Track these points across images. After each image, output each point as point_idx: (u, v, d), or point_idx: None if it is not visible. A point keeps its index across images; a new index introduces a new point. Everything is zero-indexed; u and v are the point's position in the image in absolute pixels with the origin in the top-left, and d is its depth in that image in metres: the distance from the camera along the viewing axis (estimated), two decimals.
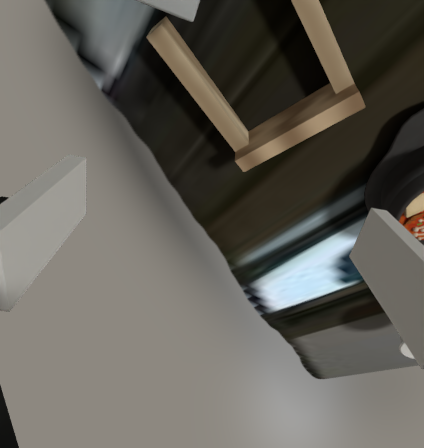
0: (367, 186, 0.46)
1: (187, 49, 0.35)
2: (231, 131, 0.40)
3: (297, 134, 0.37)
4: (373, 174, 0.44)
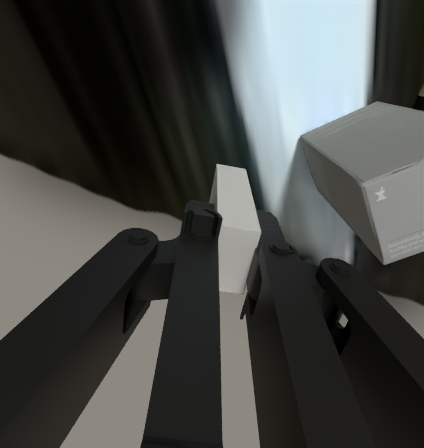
0: None
1: None
2: None
3: None
4: None
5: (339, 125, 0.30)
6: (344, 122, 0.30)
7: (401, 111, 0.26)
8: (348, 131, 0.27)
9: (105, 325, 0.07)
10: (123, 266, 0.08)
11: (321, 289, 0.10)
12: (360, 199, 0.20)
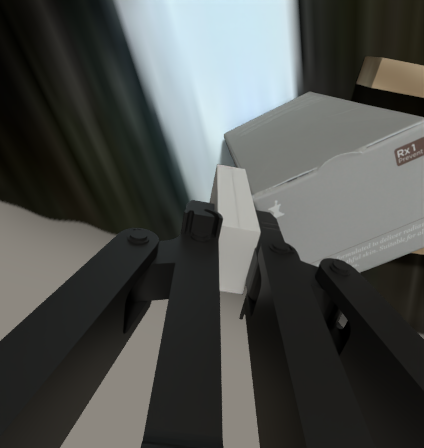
0: None
1: None
2: None
3: None
4: None
5: (262, 120, 0.25)
6: (268, 117, 0.25)
7: (327, 102, 0.22)
8: (267, 127, 0.23)
9: (105, 325, 0.07)
10: (123, 266, 0.08)
11: (321, 289, 0.10)
12: None
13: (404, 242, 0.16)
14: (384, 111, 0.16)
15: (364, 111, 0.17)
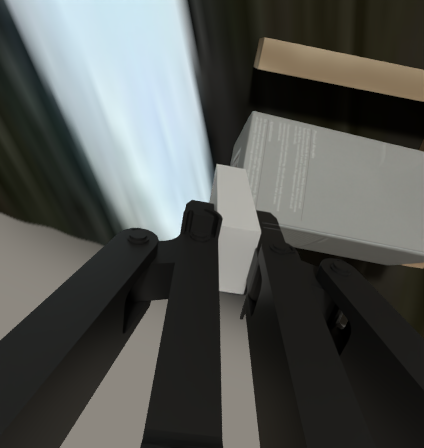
0: None
1: None
2: None
3: None
4: None
5: (283, 180, 0.23)
6: (282, 172, 0.23)
7: (331, 138, 0.24)
8: (321, 191, 0.23)
9: (105, 325, 0.07)
10: (123, 266, 0.08)
11: (321, 289, 0.10)
12: (422, 260, 0.24)
13: None
14: (412, 152, 0.25)
15: (398, 153, 0.24)
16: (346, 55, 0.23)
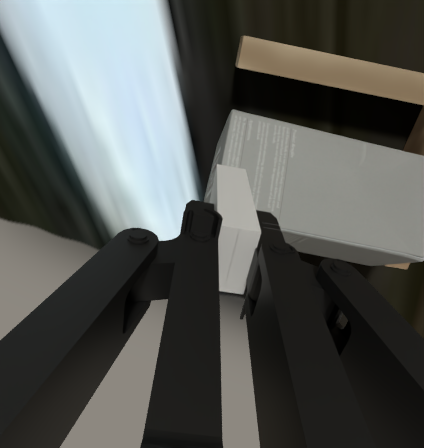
0: None
1: None
2: None
3: None
4: None
5: (261, 179, 0.22)
6: (260, 171, 0.22)
7: (310, 137, 0.24)
8: (300, 190, 0.23)
9: (105, 325, 0.07)
10: (123, 266, 0.08)
11: (321, 289, 0.10)
12: (403, 261, 0.24)
13: None
14: (393, 151, 0.24)
15: (379, 153, 0.24)
16: (326, 54, 0.23)
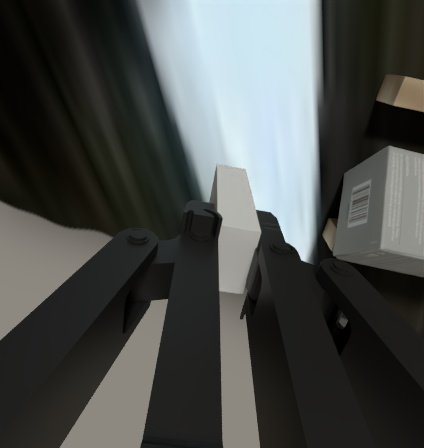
0: None
1: None
2: None
3: None
4: None
5: (423, 214, 0.23)
6: (421, 206, 0.23)
7: None
8: None
9: (105, 325, 0.07)
10: (123, 266, 0.08)
11: (321, 289, 0.10)
12: None
13: None
14: None
15: None
16: None
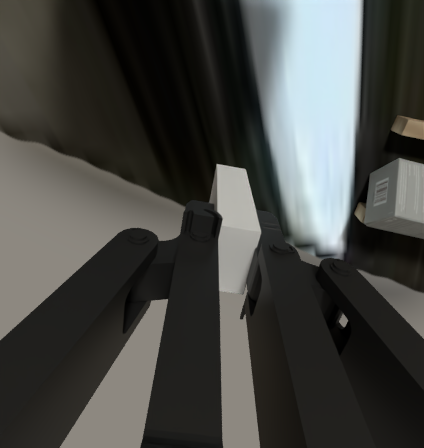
0: None
1: None
2: None
3: None
4: None
5: (418, 197, 0.42)
6: (417, 192, 0.42)
7: None
8: None
9: (105, 325, 0.07)
10: (123, 266, 0.08)
11: (321, 289, 0.10)
12: None
13: None
14: None
15: None
16: None
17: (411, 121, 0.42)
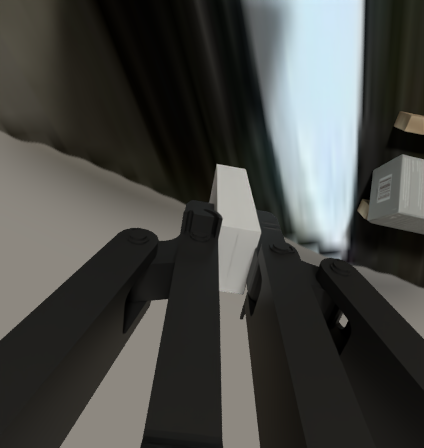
0: None
1: None
2: None
3: None
4: None
5: (422, 193, 0.42)
6: (421, 189, 0.42)
7: None
8: None
9: (105, 325, 0.07)
10: (123, 266, 0.08)
11: (321, 289, 0.10)
12: None
13: None
14: None
15: None
16: None
17: (414, 117, 0.42)
